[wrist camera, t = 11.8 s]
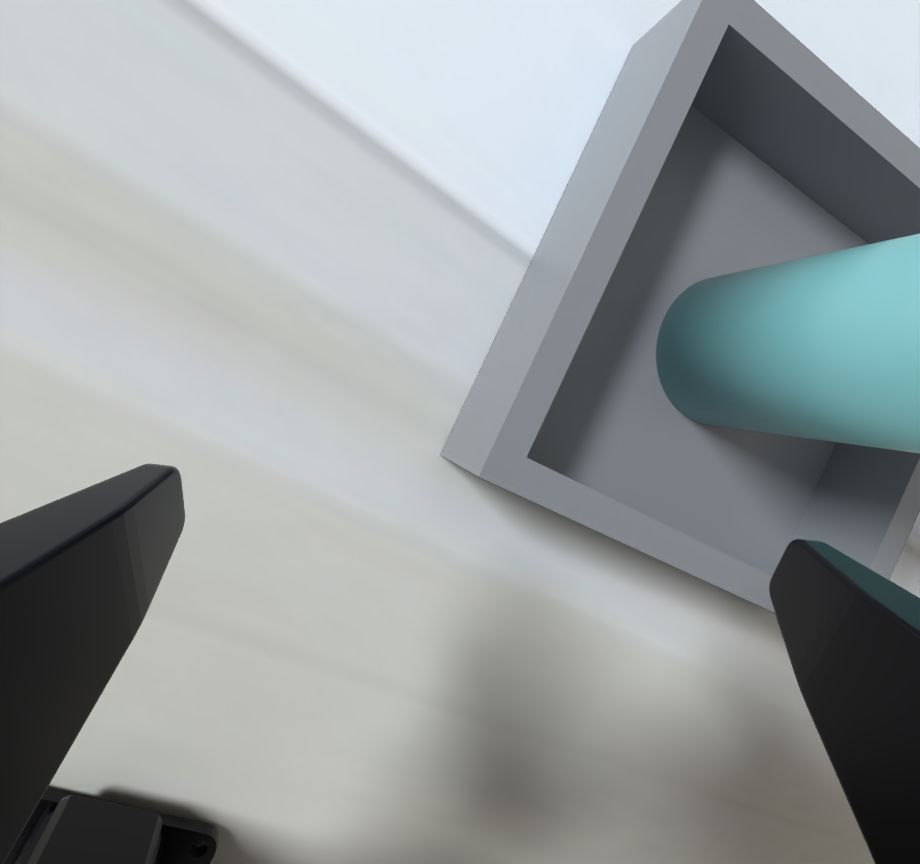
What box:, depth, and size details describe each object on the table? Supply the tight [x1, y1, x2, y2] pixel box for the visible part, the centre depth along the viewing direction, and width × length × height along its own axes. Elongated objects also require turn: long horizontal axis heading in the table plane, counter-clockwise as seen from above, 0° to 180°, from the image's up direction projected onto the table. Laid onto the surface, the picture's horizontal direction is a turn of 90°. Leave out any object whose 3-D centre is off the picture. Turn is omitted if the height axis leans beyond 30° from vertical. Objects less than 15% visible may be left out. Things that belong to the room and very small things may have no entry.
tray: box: [440, 0, 920, 613], centre depth 20 cm, size 15×15×4 cm
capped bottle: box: [656, 234, 920, 453], centre depth 15 cm, size 5×5×13 cm
